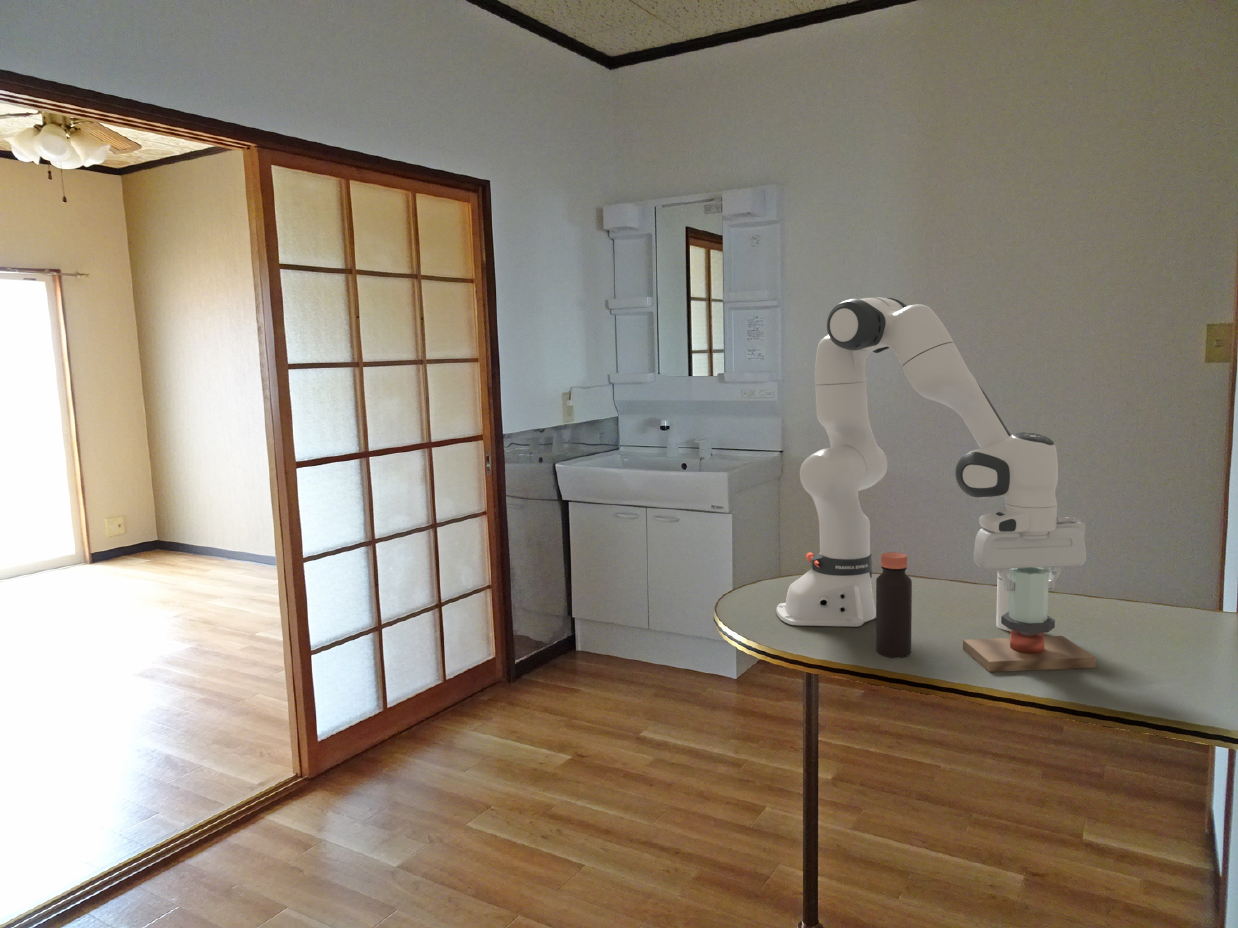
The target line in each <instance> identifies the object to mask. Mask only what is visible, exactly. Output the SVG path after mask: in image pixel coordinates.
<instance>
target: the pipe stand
mask: <svg viewBox="0 0 1238 928" xmlns="http://www.w3.org/2000/svg"><path fill="white" fill-rule="evenodd" d="M1009 632H1010V637H1000V638H999V637H998V638H973V639H963V640H962V650H963V651H964V652H965V653H966V654H968V655H969V656H970V658H972V659H973V660H975V661H976V662H977V663H978V664H979V665H980V666H982V667H983V668H984V669H985V670H986V671H987V672H988V673H992V672H993V673H994V672H995V673H997V672H1021V671H1041V670H1042V671H1043V670H1045V671H1046V670H1068V669H1070V670H1071V669H1090V668H1091V669H1092V668H1096V661H1097V659H1096V656H1094V655H1093V654H1091V653H1090V652H1088V651H1086V650H1085V649H1084V648H1082V647H1080V646H1079V645H1077V644H1076V643H1075V642H1073V641H1072V640H1070V639H1069V638H1067V637H1065V636H1064V635H1050V636H1046V635H1045V633H1026V632H1021V631H1015V630H1011V631H1009Z"/></svg>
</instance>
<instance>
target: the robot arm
mask: <svg viewBox="0 0 1238 928" xmlns="http://www.w3.org/2000/svg"><path fill="white" fill-rule="evenodd" d="M826 331H827V335H826V336H824V337H823V338H821V339H820V341H819V342H818V345H817V348H816V356H815V362H814V363H815V367H814V384H815V385H814V388H815V390H814V391H815V393H814V394H815V409H816V410H815V412H816V418H817V422H818V423H819V424H820V425H821V426H822V427H823V428H824V430H825V431H826V434H827V436H828V440H829V445H830V447H828V448H827V447H826V448H822V449H820V450H817V451H816V452H814V453H812V454H811V455H809V456H808V457H807V458H805V459H804V461H803V462H802V463H801V466H800V469H799V479H800V484H801V486H802V487H803V489H804V491H805V492H806V493H808V494H809V496H810V497H811V498H812V500H813V503H814V506H815V509H816V514H817V518H818V525H819V526H818V527H819V531H818V532H819V552H818V553H816V554H814V553H813V552H807V553H806V554H805V559H806V560H807V561H808V562H809V563H810V567H811V569H809V570H808V571H807V572H806V573H804V574H803V575H801V576H800V577H798V578H797V579H796V580H795V581H793V582H791V583H790V585H789V587H788V590H787V591H786V592H787V594H786V599H785V602H781V603H778V604H777V606H776V615H777V616H778V618H779V620H781V621H782V622H784V623H785V624H787V625H790V626H791V625H792V626H805V627H806V626H809V627H812V626H815V627H817V626H818V627H854V628H855V627H861V626H862V625H864V624H865V623H866V622H869V621H872V620H874V619H876V603H875V600H874V595H873V589H872V588H873V587H872V578H873V555H872V553H871V522H870V518H869V517H868V516H867V515H866V514H865V513H864V511H863V509H862V507H861V504H860V499H859V491H863V490H867V489H869V488H871V487H872V486H874V485H876V484H877V483H879V482H880V481H881V480H882V479H883V478H884V477H885V475H886V473H887V470H888V459H887V456H886V454H885V451H883V450H882V449H881V448H880V446H879V445H878V442H877V441H876V438H875V435H874V432H873V429H872V425H871V423H870V422H871V421H870V417H869V410H868V409H869V408H868V391H867V390H868V389H867V387H868V386H867V374H866V365H867V364H866V363H867V360H868V357H869V355H870V354H872V353H875V354H879V353H881V352H883V351H886V350H888V349H890V350H892V352H893V353H894V354H895V356H896V359H897V360H898V362H899V365H900V367H901V369H902V371H903V373H904V375H905V377H906V379H907V381H908V382H909V384H910V385H911V387H912V388H913V389H914V390H915V392H916V393H917V394H918V395H920V396H921V397H923V398H925V399H927V400H930V401H934V402H937V403H939V404H942V405H944V406H946V407H948V408H950V409H951V410H953V411H954V412H955V413H956V414H957V415H959V416H960V417H961V419H962V421H963V422H964V423H965V426H966V427H967V429H968V430H969V432H970V433H971V435H972V437H973V439H974V440H975V442H976V444H977V446H978V447H979V448H977V449H974V450H971V451H969V452H967V453H965V454H964V455H962V456H961V457H960V458H959V460H958V461H957V464H956V467H955V472H954V473H955V474H954V475H955V480H956V483H957V485H958V487H959V488H960V490H962V492H963V493H965V494H966V495H967V496H969V497H972V498H978V499H988V498H991V497H1003V498H1004V500H1005V506H1004V507H1000V508H999V509H996V510H993V511H991V512H988V513H985V514H982V515H981V516H979V519H978V520H979V521H978V524H979V526H981V527H982V528H980V529H979V530H978V531H977V533H976V536H975V539H974V540H975V541H974V545H973V546H974V547H973V562H974V563H975V564H976V566H977V567H979V568H981V569H983V570H988V571H989V570H997V574H998V573H999V575H1000V576H1001V578H1002V580H1003V588H1004V590H1006V591H1014V590H1015V587H1014V586H1015V582H1014V581H1012V580H1009V578H1008V576H1007V574H1009V573H1010V569H1012V568H1036V567H1041V568H1048V570H1049V583H1048V590H1055V587H1056V581H1057V579H1058V577H1059V576H1060V575H1061V573H1062V567H1079V566H1080V567H1081V566H1083V565H1084V564H1085V562H1086V561H1087V550H1086V541H1085V540H1086V539H1085V536H1086V524H1085V523H1084V521H1083V520H1082V519H1079V518H1078V517H1077V516H1071V517H1059V516H1058V501H1057V497H1056V489H1057V485H1058V481H1059V462H1058V452H1057V451H1058V450H1057V447H1056V445H1055V442H1054V441H1053V440H1052V439H1051V438H1049V437H1048V436H1045V435H1043V434H1039V433H1034V432H1021V431H1019V432H1015V433H1012V434H1011V433H1010V431H1009V430H1008V428H1007V426H1006V424H1005V423H1004V421H1003V420H1002V418H1001V417H1000V415H999V414H998V412H997V410H996V409H995V407H994V405H993V403H992V402H991V401H990V399H989V397H988V396H987V394H986V392H985V391H984V390H983V388H982V386H981V385H980V384H979V382H978V381H977V379H976V378H975V376H973V374H972V372H971V371H970V370H969V368H968V366H967V363H966V362H965V360H964V358H963V357H962V355H961V353H960V351H959V350H958V347H957V346H956V344H955V341H954V340H953V338H952V337H951V335H950V332H949V331H948V329H947V328H946V326H945V325H944V323H943V321H941V319H940V318H939V317H938V315H937V313H935V312H934V310H933V309H932V308H931V307H930V306H928V305H925V304H921V303H916V304H910V305H907V304H906V303H904V301H901V300H899V299H896V298H893V297H879V296H869V297H864V298H850V299H847V300H844V301H842V302H839V303H838V304H837V305H835V306H834V307H832V309H831V311H830V312H829V313H828V316H827V320H826Z"/></svg>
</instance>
